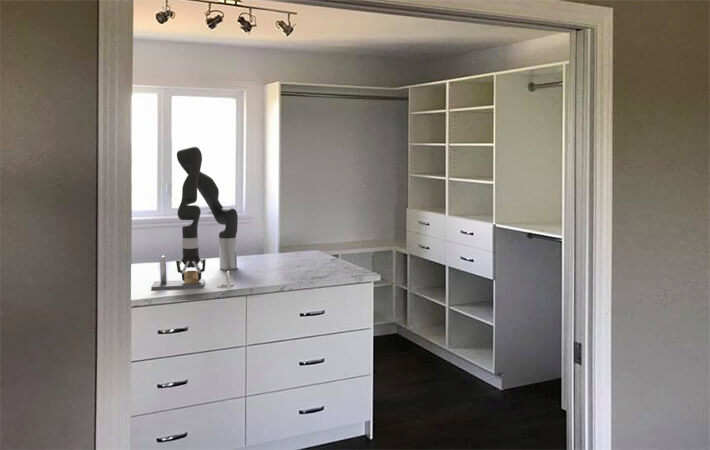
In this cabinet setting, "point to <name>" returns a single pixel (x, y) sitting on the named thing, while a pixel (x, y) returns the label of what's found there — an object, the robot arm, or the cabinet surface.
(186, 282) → the oak bead
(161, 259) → the steel needle
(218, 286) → the stand
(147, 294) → the cabinet surface
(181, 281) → the lacing board
